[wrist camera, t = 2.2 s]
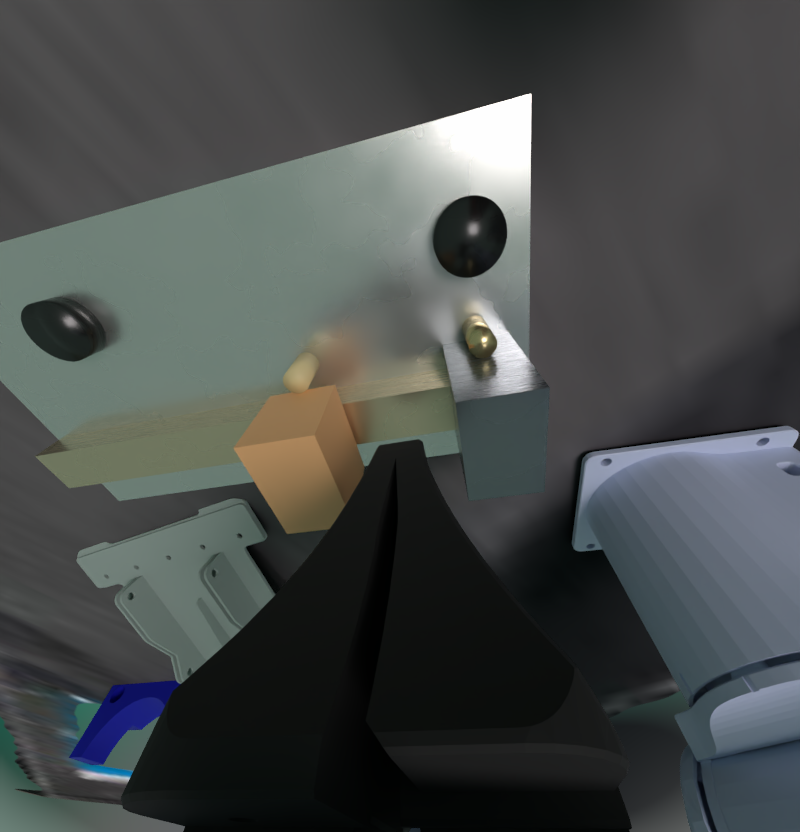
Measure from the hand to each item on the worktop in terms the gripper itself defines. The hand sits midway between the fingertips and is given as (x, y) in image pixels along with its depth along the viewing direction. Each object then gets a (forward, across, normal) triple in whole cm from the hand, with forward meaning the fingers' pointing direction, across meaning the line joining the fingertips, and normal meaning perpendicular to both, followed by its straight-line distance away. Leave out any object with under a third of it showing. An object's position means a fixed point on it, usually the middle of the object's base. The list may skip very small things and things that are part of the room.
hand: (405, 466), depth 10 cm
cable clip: (+6, +35, +34) cm, 49 cm away
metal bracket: (+6, +17, +14) cm, 23 cm away
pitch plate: (+6, +6, -2) cm, 8 cm away
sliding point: (+4, +3, 0) cm, 5 cm away
